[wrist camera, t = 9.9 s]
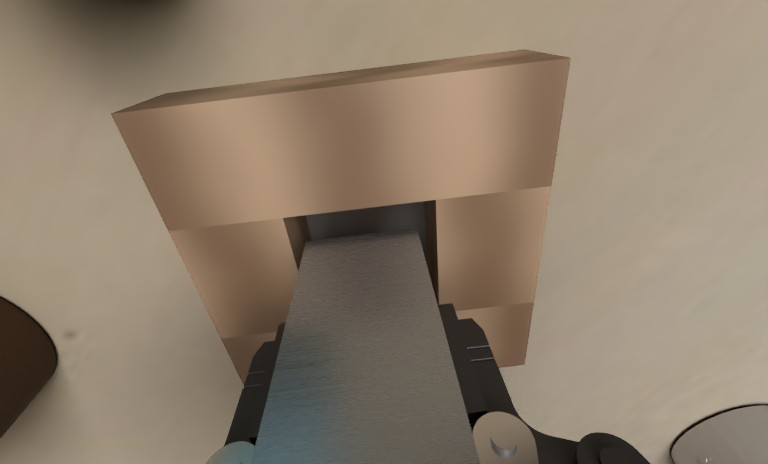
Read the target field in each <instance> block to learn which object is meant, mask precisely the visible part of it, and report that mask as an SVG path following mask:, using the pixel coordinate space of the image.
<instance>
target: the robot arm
mask: <svg viewBox="0 0 768 464" xmlns="http://www.w3.org/2000/svg"><path fill="white" fill-rule="evenodd" d="M438 308H439V312H440V315H441V319H442V323H443V327H444V330H445V334H446V338H447V341H448V345H449V349H450V353H451V356H452V360H453V364H454V367H455V371H456V375H457V379H458V382H459V386H460V390H461V393H462V397H463V401H464V404H465V408H466V412H467V416H468V419H469V423H470V427H471V430H472V434H473V438H474V442H475V445H476V449H477V453H478V456H479V460H480V464H650V463H649V462H648V461H647V460H646V459H645V458H644V457H643V456H642V455H641V454H640V453H639V452H638V451H637V450H636V449H635V448H634V447H633V446H632V445H630V444H629V443H627V442H626V441H624V440H622V439H621V438H619V437H616V436H614V435H611V434H607V433H591V434H588V435H586V436H585V437H583V438H582V439H581V441H580V442H576V441H571V440H566V439H562V438H557V437H552V436H549V435H545V434H543V433H540V432H538V431H536V430H535V429H533V428H532V427H530V426H529V425H528V424H526V423H525V422H524V421H523V420H522V419H521V417H520V416H519V415H518V413H517V412H516V410H515V408H514V406H513V404H512V401H511V398H510V396H509V393H508V391H507V388H506V386H505V383H504V381H503V378H502V376H501V373H500V371H499V368H498V366H497V363H496V360H495V359H494V355H493V353H492V350H491V348H490V347H489V343H488V340H487V338H486V335H485V333H484V330H483V329H482V328H481V327H480V326H479V325H478V324H477V323H476V322H475V321H474V320H473V319H472V318H468V319H459V320H458V318H457V315H456V312H455V308H454V306H453V304H452V303H449V304H441V305H438ZM285 324H286V322H285V323H280V324H279V327H278V330H277V334H276V337H275V341H269V342H264V343H263V344H262V346H261V347H260V348H259V350H258V351H257V352H256V353H255V355H254V356H253V359H252V362H251V365H250V368H249V371H248V375H247V378H246V381H245V384H244V389H243V390H242V393H241V396H240V399H239V403H238V406H237V409H236V412H235V415H234V418H233V421H232V425H231V428H230V431H229V434H228V437H227V440H226V442H225V445H224V447H222V448H221V449H219V450H218V451H217V452H216V453H215V454H214V455H213V456H212V457H211V458H210V459H209V460H208V461H207V463H206V464H251V461H252V457H253V453H254V449H255V445H256V441H257V437H258V433H259V429H260V425H261V421H262V417H263V413H264V409H265V405H266V401H267V397H268V392H269V388H270V384H271V380H272V376H273V372H274V368H275V364H276V360H277V356H278V352H279V348H280V344H281V340H282V336H283V332H284V328H285ZM671 453H672V458H673V460H674V462H675V463H676V464H768V406H765V405H760V406H750V407H744V408H740V409H735V410H732V411H728V412H725V413H722V414H719V415H717V416H715V417H712V418H710V419H707V420H706V421H704V422H702V423H700V424H698V425H696V426H695V427H693V428H692V429H690V430H689V431H687V432H686V433H685V434H684V435H683V436H682V437H681V438H679V439H678V441H677V442H676V443H675V445H674V446H673V449H672V451H671Z"/></svg>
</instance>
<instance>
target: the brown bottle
mask: <svg viewBox="0 0 768 464" xmlns="http://www.w3.org/2000/svg"><path fill="white" fill-rule="evenodd" d="M55 366H56V356H55V351H54V348H53V346H52V343H51V342H50V340H49V338H48V337H47V335H46V334H45V332H44V331H43V330H42V329H41V328H40V327H39V326H38V325H37V324H36V323H35V322H34V321H33V320H32V319H31V318H30V317H29V316H27V315H26V314H25V313H24V312H22V311H21V310H20V309H18V308H17V307H15V306H14V305H12V304H10V303H9V302H7V301H5V300H3V299H2V298H0V438H1V437H2V436H3V435H4V433H5V432H6V431H7V430H8V429H9V427H10V426H11V425H12V424H13V423H14V421H15V420H16V419H17V418H18V417H19V415H20V414H21V413H22V412H23V411H24V409H25V408H26V407H27V406H28V405H29V403H30V402H31V401H32V400H33V399H34V397H35V396H36V395H37V394H38V392H39V391H40V390H41V389H42V388H43V386H44V385H45V384H46V383H47V381H48V380H49V379H50V377H51V376H52V374H53V372H54V370H55Z"/></svg>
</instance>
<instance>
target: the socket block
mask: <svg viewBox="0 0 768 464" xmlns="http://www.w3.org/2000/svg"><path fill="white" fill-rule="evenodd" d="M570 59H571V58H569V57H563V56H557V55H552V54H546V53H541V52H535V51H529V50H518V51H510V52H502V53H494V54H485V55H477V56H469V57H461V58H453V59H444V60H436V61H428V62H420V63H412V64H403V65H395V66H387V67H379V68H371V69H362V70H354V71H346V72H338V73H330V74H321V75H313V76H305V77H297V78H289V79H280V80H272V81H264V82H256V83H248V84H239V85H231V86H223V87H215V88H207V89H198V90H190V91H182V92H174V93H166V94H163V95H160V96H158V97H155V98H152V99H150V100H147V101H144V102H141V103H139V104H136V105H133V106H131V107H128V108H125V109H122V110H120V111H117V112H114V113H112V114H111V115H112V117H113V119H114V121H115V123H116V125H117V127H118V129H119V131H120V133H121V135H122V137H123V139H124V141H125V143H126V145H127V147H128V149H129V152H130V154H131V156H132V158H133V160H134V162H135V164H136V166H137V168H138V170H139V172H140V174H141V176H142V178H143V180H144V182H145V184H146V186H147V188H148V190H149V192H150V194H151V196H152V198H153V200H154V203H155V205H156V207H157V209H158V211H159V213H160V215H161V217H162V219H163V221H164V223H165V225H166V227H167V229H168V231H169V233H170V235H171V237H172V239H173V241H174V243H175V245H176V247H177V249H178V252H179V254H180V256H181V258H182V260H183V262H184V264H185V266H186V268H187V270H188V272H189V274H190V276H191V278H192V280H193V282H194V284H195V286H196V288H197V290H198V292H199V294H200V296H201V298H202V300H203V303H204V305H205V307H206V309H207V311H208V313H209V315H210V317H211V319H212V321H213V323H214V325H215V327H216V329H217V331H218V333H219V335H220V337H221V339H222V341H223V343H224V345H225V347H226V349H227V351H228V354H229V356H230V358H231V360H232V362H233V364H234V366H235V368H236V370H237V372H238V374H239V376H240V378H241V380H242V382H243V384H245V381H246V378H247V375H248V371H249V368H250V365H251V362H252V359H253V356H254V355H255V353H256V352H257V351H258V350H259V348H260V347H261V346H262V344H263V343H264V342H269V341H275V337H276V334H277V330H278V327H279V324H280V323H285V322H286V320H287V316H288V312H289V308H290V304H291V300H292V296H293V292H294V288H295V284H296V280H297V276H298V272H299V267H300V263H301V259H302V255H303V251H304V247H305V243H306V241H313V240H321V239H329V238H338V237H346V236H355V235H363V234H371V233H380V232H388V231H397V230H405V229H413V228H417V230H418V234H419V238H420V241H421V245H422V249H423V252H424V256H425V260H426V264H427V267H428V271H429V275H430V278H431V282H432V286H433V290H434V293H435V297H436V301H437V304H438V305H441V304H449V303H452V304H453V306H454V308H455V312H456V315H457V318H458V320H459V319H468V318H472V319H473V320H474V321H475V322H476V323H477V324H478V325H479V326H480V327H481V328H482V329H483V330H484V333H485V335H486V338H487V340H488V343H489V347H490V348H491V350H492V353H493V355H494V359H495V360H496V363H497V366H498V368H499V367H508V366H517V365H524V364H525V357H526V351H527V344H528V338H529V331H530V324H531V318H532V311H533V304H534V298H535V291H536V284H537V278H538V271H539V265H540V258H541V251H542V245H543V238H544V231H545V225H546V218H547V211H548V205H549V198H550V191H551V185H552V178H553V172H554V165H555V158H556V152H557V145H558V138H559V132H560V125H561V118H562V112H563V105H564V98H565V92H566V85H567V79H568V72H569V65H570Z"/></svg>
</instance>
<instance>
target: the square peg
mask: <svg viewBox="0 0 768 464" xmlns="http://www.w3.org/2000/svg"><path fill="white" fill-rule="evenodd" d="M251 464H480V460H479V456H478V453H477V449H476V445H475V442H474V438H473V434H472V430H471V427H470V423H469V419H468V416H467V412H466V408H465V404H464V401H463V397H462V393H461V390H460V386H459V382H458V379H457V375H456V371H455V367H454V364H453V360H452V356H451V353H450V349H449V345H448V341H447V338H446V334H445V330H444V327H443V323H442V319H441V315H440V312H439V308H438V304H437V301H436V297H435V293H434V290H433V286H432V282H431V278H430V275H429V271H428V267H427V264H426V260H425V256H424V252H423V249H422V245H421V241H420V238H419V234H418V230H417V228H413V229H405V230H397V231H388V232H380V233H371V234H363V235H355V236H346V237H338V238H329V239H321V240H313V241H306V243H305V247H304V251H303V255H302V259H301V263H300V267H299V272H298V276H297V280H296V284H295V288H294V292H293V296H292V300H291V304H290V308H289V312H288V316H287V320H286V324H285V328H284V332H283V336H282V340H281V344H280V348H279V352H278V356H277V360H276V364H275V368H274V372H273V376H272V380H271V384H270V388H269V392H268V397H267V401H266V405H265V409H264V413H263V417H262V421H261V425H260V429H259V433H258V437H257V441H256V445H255V449H254V453H253V457H252V461H251Z"/></svg>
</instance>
